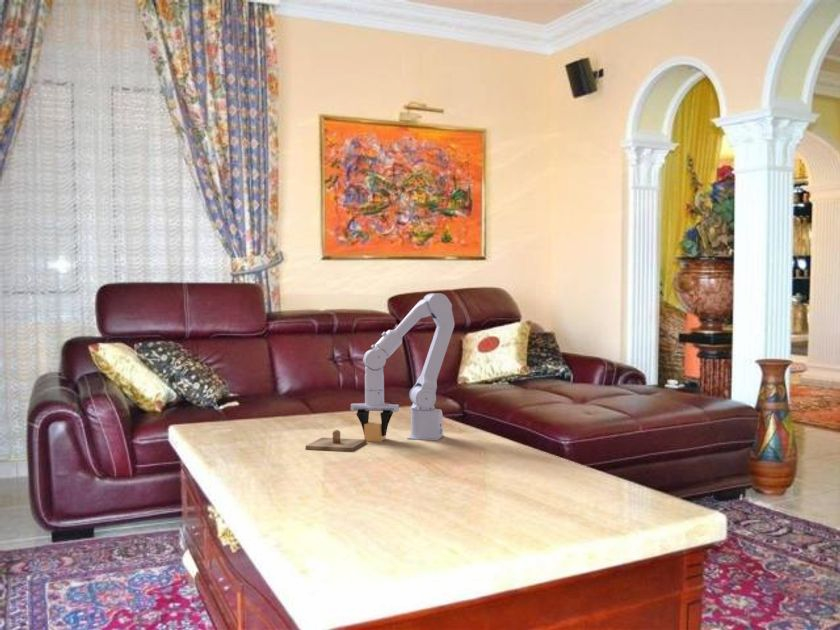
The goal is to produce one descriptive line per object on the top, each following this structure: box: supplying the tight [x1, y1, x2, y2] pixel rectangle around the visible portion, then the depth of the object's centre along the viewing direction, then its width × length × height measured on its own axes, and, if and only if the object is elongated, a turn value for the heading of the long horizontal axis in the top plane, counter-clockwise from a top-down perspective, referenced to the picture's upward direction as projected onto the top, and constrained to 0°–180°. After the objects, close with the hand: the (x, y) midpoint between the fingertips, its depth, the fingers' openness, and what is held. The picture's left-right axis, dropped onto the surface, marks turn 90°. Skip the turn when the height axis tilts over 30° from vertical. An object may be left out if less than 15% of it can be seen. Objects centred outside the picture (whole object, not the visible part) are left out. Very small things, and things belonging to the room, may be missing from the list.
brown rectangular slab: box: [305, 429, 368, 452], centre depth 213 cm, size 14×12×5 cm
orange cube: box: [363, 420, 387, 443], centre depth 222 cm, size 5×5×5 cm
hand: (375, 435), depth 222 cm, fingers closed on orange cube, 5 cm apart
